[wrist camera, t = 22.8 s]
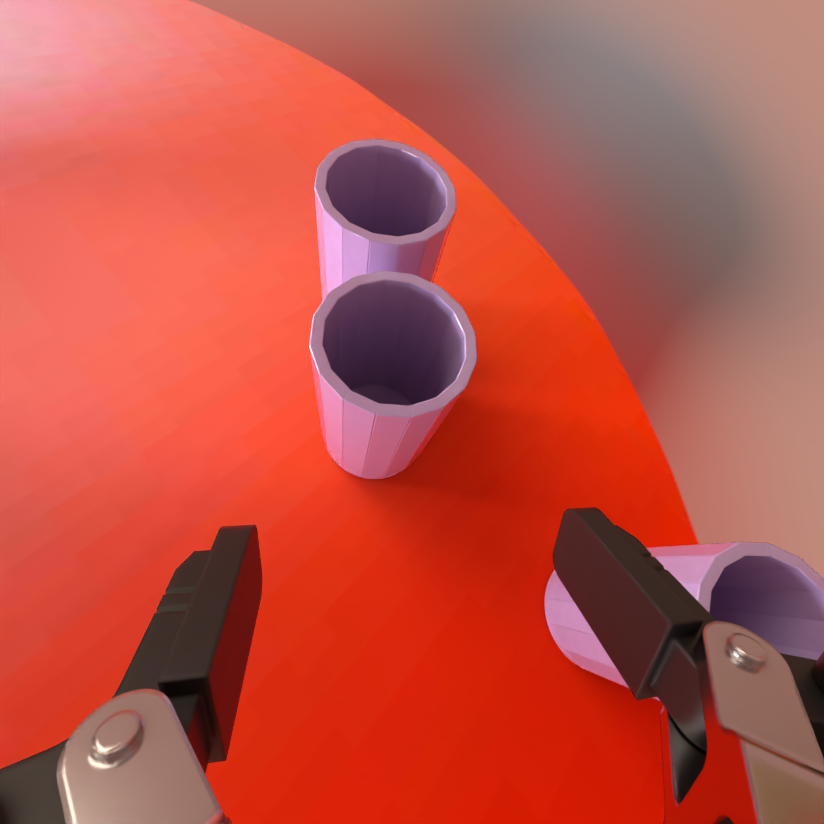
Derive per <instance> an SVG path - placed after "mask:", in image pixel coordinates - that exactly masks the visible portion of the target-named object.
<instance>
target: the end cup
mask: <svg viewBox="0 0 824 824" xmlns="http://www.w3.org/2000/svg"><path fill="white" fill-rule="evenodd" d="M647 550H648V551H649V552H650V553H651V556H652V557H655V558H656V559H657V560H658V561H659V562H660V563H661V564H662V565H663V566H664V569H665V570H668V571H669V572H670V573H671V574H672V575H673V576H674V577H675V578H676V579H677V580H678V581H679V582H680V583H681V584H682V585H683V586H684V587H685V589H686V590H687V591H688V592H689V593H690V594H691V595H692V596H693V597H694V598H695V599H696V600H697V601H698V602H699V603H700V604H701V605H702V606H703V607H704V608H705V609H706V610H707V611H708V612H709V613H710V614H711V615H712V616H713V617H714V618H715V619H716V620H717V621H725V622H730V623H733V624H736V625H739V626H741V627H744V628H746V629H748V630H750V631H752V632H753V633H755V634H757V635H758V636H760V637H761V638H763V639H764V640H765V641H767V642H768V643H769V644H770V645H772V646H773V647H774V648H775V649H776V650H777V651H778V652H779V653H782V654H788V655H793V656H798V657H803V658H808V659H813V660H818V658H819V657H820V656H821V654H822V653H823V651H824V579H823V578H822V577H821V576H820V575H819V574H818V573H817V572H816V571H815V570H813V569H812V568H811V567H810V566H809V565H808V564H807V563H806V562H805V561H804V560H803V559H801V558H799V557H798V556H796V555H794V554H792V553H789V552H787V551H785V550H783V549H781V548H779V547H776V546H774V545H772V544H769V543H758V542H732V543H716V544H700V545H684V546H669V547H653V548H647ZM544 603H545V615H546V620H547V624H548V627H549V630H550V632H551V635H552V637H553V639H554V641H555V642H556V644H557V646H558V647H559V649H560V650H561V651H562V652H563V654H564V655H565V656H566V657H567V658H568V659H569V660H570V661H572V662H573V663H574V664H576V665H577V666H579V667H580V668H582V669H584V670H586V671H589V672H591V673H593V674H595V675H597V676H600V677H602V678H604V679H606V680H609V681H611V682H614V683H616V684H618V685H621V686H623V687H625V688H628V689H629V687H628V686H627V684H626V683H625V681H624V679H623V678H622V676H621V675H620V673H619V672H618V670H617V668H616V667H615V665H614V664H613V662H612V661H611V659H610V657H609V656H608V654H607V653H606V651H605V650H604V648H603V646H602V645H601V643H600V642H599V640H598V639H597V637H596V635H595V634H594V632H593V631H592V629H591V628H590V626H589V624H588V623H587V621H586V620H585V618H584V617H583V615H582V613H581V612H580V610H579V609H578V607H577V606H576V604H575V602H574V601H573V599H572V598H571V596H570V595H569V593H568V591H567V590H566V588H565V587H564V585H563V584H562V582H561V581H560V579H559V577H558V576H557V574H556V571H555V570H554V571H553V573H552V574H551V576H550V578H549V581H548V584H547V587H546V592H545V602H544ZM651 699H654V700H656V701H658V702H661V701H660V700H659V698H658V697H653V698H651Z"/></svg>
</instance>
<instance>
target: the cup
mask: <svg viewBox="0 0 824 824" xmlns="http://www.w3.org/2000/svg"><path fill="white" fill-rule="evenodd" d="M314 190H315V204H316V218H317V232H318V246H319V260H320V274H321V288H322V302H323V300H324V299H325V297H326V296H327V294H328V293H329V292H330V291H331V290H333V289H335V288H336V287H338V286H339V285H341V284H342V283H344V282H346V281H347V280H349V279H350V278H352V277H354V276H358V275H363V274H368V273H373V272H378V271H392V272H400V273H408V274H413V275H416V276H418V277H421V278H423V279H425V280H427V281H429V282H431V283H433V281H434V278H435V275H436V272H437V268H438V265H439V262H440V259H441V256H442V253H443V250H444V247H445V244H446V240H447V237H448V234H449V231H450V228H451V225H452V222H453V219H454V216H455V212H456V190H455V187H454V186H453V184H452V182H451V180H450V178H449V176H448V175H447V173H446V171H445V170H444V169H443V168H442V167H441V166H440V165H439V164H437V163H436V162H435V161H434V160H433V159H432V158H431V157H429V156H428V155H426V154H425V153H423V152H421V151H419V150H417V149H415V148H413V147H410V146H408V145H406V144H403V143H399V142H394V141H388V140H382V139H369V140H359V141H352V142H349V143H347V144H345V145H343V146H341V147H339V148H336V149H334V150H332V151H331V152H330V153H329V154H328V155H327V156H326V158H325V159H324V160H323V161H322V162H321V164H320V165H319V166H318V168H317V173H316V180H315V187H314Z"/></svg>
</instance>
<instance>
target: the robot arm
mask: <svg viewBox="0 0 824 824" xmlns="http://www.w3.org/2000/svg"><path fill="white" fill-rule="evenodd" d="M553 564H554V568H555V571H556V574H557V576H558V577H559V579H560V581H561V582H562V584H563V585H564V587H565V588H566V590H567V591H568V593H569V595H570V596H571V598H572V599H573V601H574V602H575V604H576V606H577V607H578V609H579V610H580V612H581V613H582V615H583V617H584V618H585V620H586V621H587V623H588V624H589V626H590V628H591V629H592V631H593V632H594V634H595V635H596V637H597V639H598V640H599V642H600V643H601V645H602V646H603V648H604V650H605V651H606V653H607V654H608V656H609V657H610V659H611V661H612V662H613V664H614V665H615V667H616V668H617V670H618V672H619V673H620V675H621V676H622V678H623V679H624V681H625V683H626V684H627V686H628V687H629V689H630V690H631V692H632V694H633V695H634V697H635V698H636V700H640V699H646V698H653V697H658V698H659V700H660V701H661V703H662V704H663V705H664V706H663V708H662V710H661V714H660V728H661V747H662V767H663V786H664V806H665V810H664V822H663V824H824V651H823V653H822V654H821V656H820V657H819V658H818V660H813V659H808V658H803V657H798V656H793V655H788V654H782V653H779V652H778V651H777V650H776V649H775V648H774V647H773V646H772V645H770V644H769V643H768V642H767V641H765V640H764V639H763V638H761V637H760V636H758V635H757V634H755V633H753V632H752V631H750V630H748V629H746V628H744V627H741V626H739V625H736V624H733V623H730V622H725V621H717V620H716V619H715V618H714V617H713V616H712V615H711V614H710V613H709V612H708V611H707V610H706V609H705V608H704V607H703V606H702V605H701V604H700V603H699V602H698V601H697V600H696V599H695V598H694V597H693V596H692V595H691V594H690V593H689V592H688V591H687V590H686V589H685V587H684V586H683V585H682V584H681V583H680V582H679V581H678V580H677V579H676V578H675V577H674V576H673V575H672V574H671V573H670V572H669V571H668V570H665V569H664V566H663V565H662V564H661V563H660V562H659V561H658V560H657V559H656V558H655V557H652V556H651V553H650V552H649V551H648V550H647V548H646V547H645V546H644V545H643V544H642V543H641V542H640V541H639V540H638V539H637V538H635V537H634V536H632V535H631V534H629V533H628V532H626V531H625V530H623V529H622V528H620V527H619V526H617V525H613V524H612V522H611V521H610V520H609V519H608V518H607V517H606V516H605V515H604V514H603V513H602V512H601V511H600V510H599V509H597V508H595V507H591V508H573V509H567V510H566V511H565V512H564V514H563V517H562V521H561V525H560V528H559V532H558V536H557V540H556V543H555V547H554V551H553ZM261 593H262V568H261V559H260V550H259V541H258V533H257V528H256V525H243V526H224V527H221V528H220V529H219V531H218V534H217V536H216V539H215V541H214V544H213V546H212V549H211V550H207V551H194V552H193V553H192V554H191V555H190V556H189V557H188V558H187V559H186V560H185V561H184V562H183V563H182V564H181V565H180V566H179V567H178V568H177V569H176V571H175V573H174V575H173V577H172V579H171V581H170V583H169V585H168V587H167V589H166V594H165V595H163V597H162V599H161V601H160V603H159V606H158V608H157V613H155V614H154V616H153V618H152V620H151V622H150V624H149V626H148V628H147V630H146V632H145V634H144V636H143V638H142V641H141V643H140V645H139V647H138V649H137V651H136V653H135V655H134V657H133V659H132V661H131V663H130V665H129V667H128V669H127V671H126V673H125V676H124V678H123V680H122V682H121V684H120V686H119V688H118V689H117V691H116V693H115V695H114V696H113V698H112V699H111V700H109V701H107V702H105V703H104V704H103V705H101V706H100V707H98V708H97V709H96V710H94V711H93V712H92V713H91V714H90V715H88V716H87V717H86V718H85V719H84V720H83V721H82V722H81V723H80V725H79V726H78V727H77V728H76V729H75V731H74V732H73V733H72V735H71V736H70V738H68V739H66V740H65V741H63V742H61V743H60V744H58V745H56V746H53V747H51V748H49V749H47V750H45V751H42V752H40V753H38V754H35V755H33V756H31V757H28V758H26V759H23V760H21V761H19V762H16V763H14V764H12V765H9V766H7V767H4V768H2V769H0V824H232V822H231V820H230V819H229V818H228V817H226V816H225V815H224V813H223V811H222V810H221V808H220V806H219V804H218V801H217V799H216V797H215V795H214V793H213V791H212V789H211V786H210V784H209V782H208V780H207V778H206V776H205V773H206V769H207V765H208V763H212V762H219V761H226V759H227V754H228V749H229V745H230V740H231V735H232V731H233V726H234V721H235V717H236V712H237V707H238V703H239V698H240V693H241V689H242V684H243V679H244V675H245V670H246V665H247V661H248V656H249V651H250V647H251V642H252V637H253V633H254V628H255V623H256V619H257V614H258V610H259V605H260V600H261Z"/></svg>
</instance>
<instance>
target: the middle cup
mask: <svg viewBox="0 0 824 824" xmlns="http://www.w3.org/2000/svg"><path fill="white" fill-rule="evenodd" d="M309 346H310V354H311V361H312V368H313V375H314V382H315V389H316V395H317V402H318V409H319V416H320V423H321V430H322V434H323V438H324V442H325V445H326V448H327V450H328V452H329V454H330V455H331V457H332V458H333V460H334V461H335V462H336V463H337V464H338V465H339V466H340V467H341V468H343V469H344V470H345V471H347V472H349V473H351V474H353V475H355V476H358V477H362V478H367V479H382V478H387V477H391V476H394V475H396V474H398V473H400V472H402V471H403V470H405V469H406V468H407V467H409V466H410V465H411V464H412V463H413V461H414V460H415V459H416V458H417V457H418V456H419V455H420V453H421V452H422V450H423V449H424V447H425V446H426V445H427V443H428V442H429V440H430V439H431V437H432V436H433V435H434V433H435V432H436V430H437V429H438V427H439V426H440V424H441V423H442V422H443V420H444V419H445V417H446V416H447V414H448V413H449V411H450V410H451V409H452V407H453V406H454V404H455V403H456V401H457V400H458V398H459V397H460V396H461V394H462V393H463V391H464V390H465V388H466V387H467V385H468V382H469V380H470V377H471V375H472V373H473V370H474V368H475V365H476V363H477V351H476V334H475V331H474V329H473V327H472V325H471V323H470V321H469V319H468V317H467V315H466V313H465V311H464V309H463V308H462V306H461V305H460V304H459V303H458V302H456V301H455V300H454V299H453V298H452V297H451V296H450V295H449V294H448V293H447V292H446V291H445V290H444V289H443V288H441V287H440V286H438V285H436V284H434V283H431V282H429V281H427V280H425V279H423V278H421V277H418V276H416V275H413V274H408V273H400V272H392V271H378V272H373V273H368V274H363V275H358V276H354V277H352V278H350V279H349V280H347V281H346V282H344V283H342V284H341V285H339V286H338V287H336V288H335V289H333V290H331V291H330V292H329V293H328V294H327V296H326V297H325V299H324V300H323V302H322V303H321V305H320V306H319V308H318V309H317V311H316V312H315V314H314V315H313V318H312V326H311V334H310V342H309Z"/></svg>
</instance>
